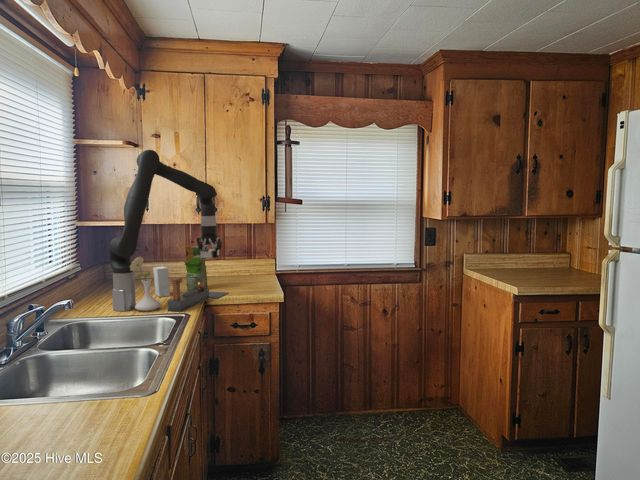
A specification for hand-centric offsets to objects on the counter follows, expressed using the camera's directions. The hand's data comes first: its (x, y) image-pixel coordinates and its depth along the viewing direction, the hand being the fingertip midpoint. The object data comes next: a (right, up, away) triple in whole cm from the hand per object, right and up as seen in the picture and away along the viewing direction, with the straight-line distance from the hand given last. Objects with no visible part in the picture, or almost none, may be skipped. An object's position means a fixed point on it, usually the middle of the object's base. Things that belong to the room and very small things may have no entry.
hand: (210, 257), depth 243 cm
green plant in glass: (-12, -18, +19) cm, 29 cm away
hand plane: (-6, -22, -16) cm, 28 cm away
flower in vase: (-24, -23, -25) cm, 41 cm away
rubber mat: (0, -20, +4) cm, 20 cm away
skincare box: (-26, -20, +5) cm, 33 cm away
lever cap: (0, +1, 0) cm, 1 cm away
